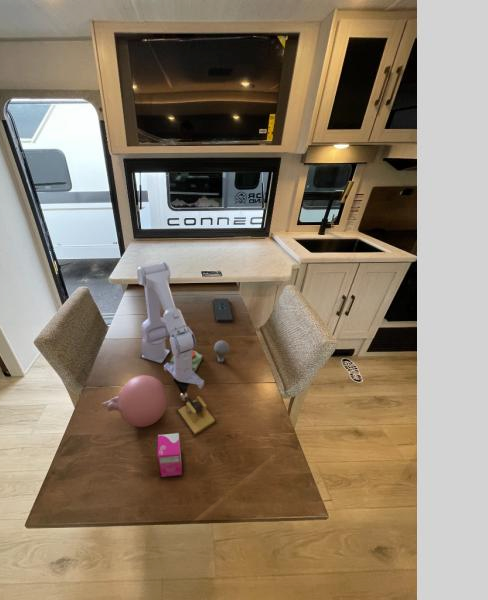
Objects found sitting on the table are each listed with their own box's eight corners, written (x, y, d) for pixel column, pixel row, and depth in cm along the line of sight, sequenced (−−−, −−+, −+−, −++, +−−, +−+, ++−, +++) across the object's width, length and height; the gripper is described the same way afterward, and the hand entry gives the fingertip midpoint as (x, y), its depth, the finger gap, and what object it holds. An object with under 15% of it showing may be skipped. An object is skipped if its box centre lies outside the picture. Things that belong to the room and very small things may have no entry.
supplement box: (160, 456, 77) (158, 433, 71) (180, 454, 78) (180, 432, 71) (160, 478, 72) (157, 456, 66) (182, 476, 73) (181, 454, 67)
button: (184, 358, 106) (184, 355, 105) (188, 352, 109) (188, 349, 108) (193, 360, 105) (193, 357, 104) (196, 354, 108) (196, 351, 107)
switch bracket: (178, 411, 90) (177, 398, 86) (197, 400, 93) (197, 387, 90) (194, 435, 83) (194, 422, 79) (214, 422, 86) (215, 409, 83)
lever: (179, 400, 93) (177, 392, 92) (186, 396, 94) (184, 389, 94) (195, 415, 84) (193, 408, 83) (203, 411, 85) (201, 403, 84)
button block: (170, 364, 108) (169, 357, 106) (178, 351, 114) (178, 344, 112) (195, 372, 104) (195, 365, 102) (202, 358, 111) (202, 351, 109)
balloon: (109, 401, 93) (101, 370, 85) (166, 392, 96) (163, 362, 88) (105, 443, 80) (95, 412, 72) (170, 432, 83) (168, 401, 75)
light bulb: (227, 366, 107) (229, 348, 102) (212, 364, 108) (213, 346, 103) (228, 356, 112) (230, 338, 106) (214, 354, 113) (215, 336, 108)
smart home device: (228, 298, 148) (233, 319, 131) (227, 300, 149) (233, 322, 132) (213, 298, 148) (216, 319, 131) (213, 300, 149) (216, 322, 132)
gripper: (209, 364, 83) (207, 392, 90) (172, 347, 90) (173, 375, 97) (197, 379, 78) (197, 408, 85) (159, 360, 85) (161, 388, 92)
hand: (183, 391), depth 91 cm, fingers closed
